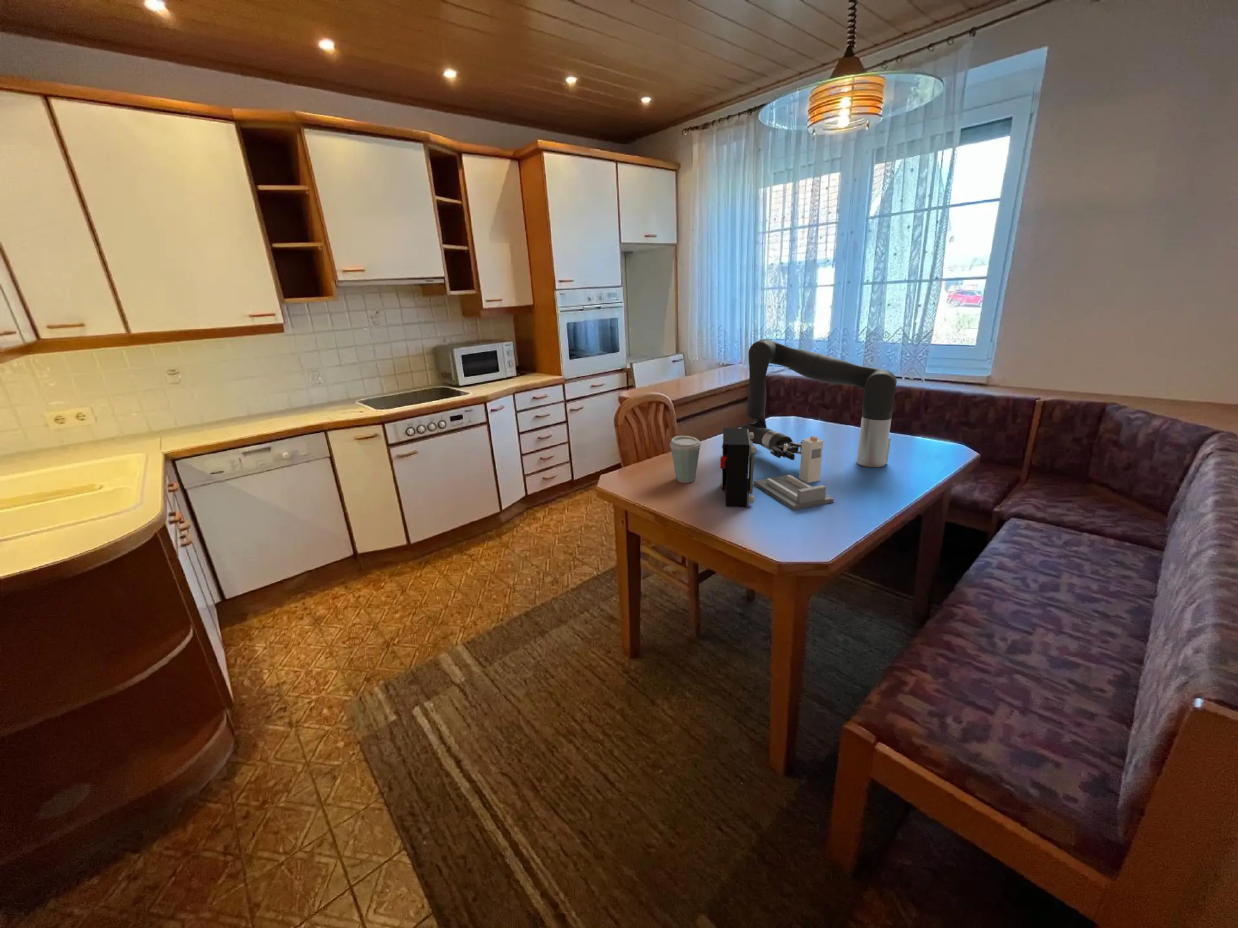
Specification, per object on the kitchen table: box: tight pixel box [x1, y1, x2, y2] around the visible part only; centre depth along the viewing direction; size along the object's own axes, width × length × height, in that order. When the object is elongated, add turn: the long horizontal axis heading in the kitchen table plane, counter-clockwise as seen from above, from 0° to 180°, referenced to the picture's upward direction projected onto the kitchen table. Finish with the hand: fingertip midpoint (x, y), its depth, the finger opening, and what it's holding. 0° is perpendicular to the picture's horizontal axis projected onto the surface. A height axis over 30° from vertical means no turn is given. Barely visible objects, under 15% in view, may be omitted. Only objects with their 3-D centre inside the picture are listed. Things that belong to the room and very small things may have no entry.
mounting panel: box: [753, 474, 835, 511], centre depth 156 cm, size 14×22×5 cm, turn 17°
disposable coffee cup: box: [669, 435, 701, 484], centre depth 169 cm, size 11×11×15 cm
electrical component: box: [719, 427, 757, 509], centre depth 154 cm, size 18×10×20 cm, turn 168°
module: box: [798, 435, 824, 484], centre depth 164 cm, size 5×5×15 cm
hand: (804, 455), depth 167 cm, fingers open, 8 cm apart
